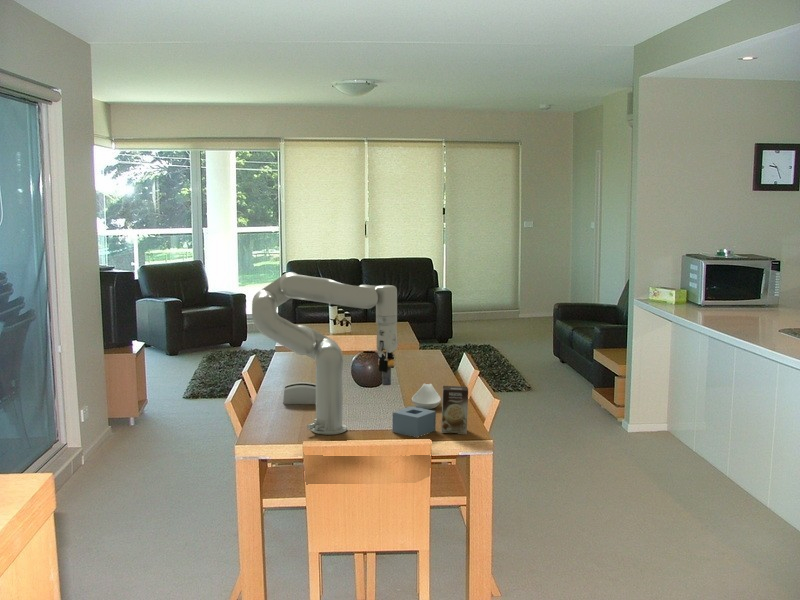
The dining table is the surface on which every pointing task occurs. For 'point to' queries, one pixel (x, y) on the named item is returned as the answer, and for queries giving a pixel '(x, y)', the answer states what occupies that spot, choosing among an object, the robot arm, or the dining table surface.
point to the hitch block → (414, 421)
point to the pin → (387, 375)
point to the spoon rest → (426, 397)
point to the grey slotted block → (300, 393)
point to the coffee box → (454, 409)
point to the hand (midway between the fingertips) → (386, 369)
